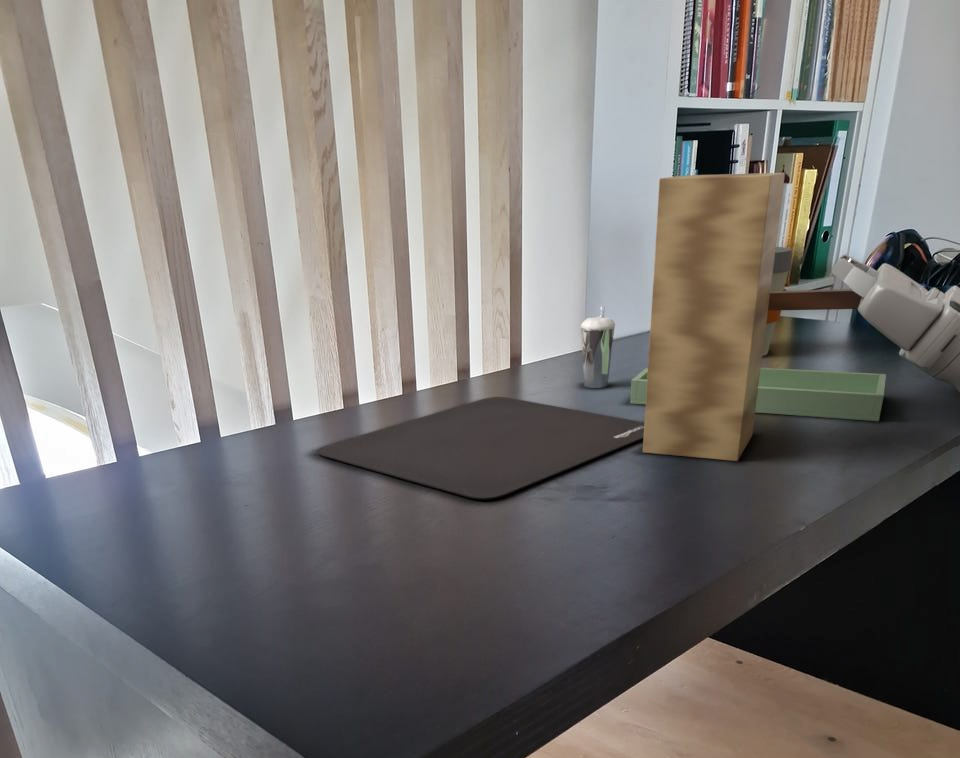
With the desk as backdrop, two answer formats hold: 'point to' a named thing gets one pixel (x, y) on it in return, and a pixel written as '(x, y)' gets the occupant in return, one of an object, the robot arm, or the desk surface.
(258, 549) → the desk surface
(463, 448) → the mouse pad
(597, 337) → the milkshake
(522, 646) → the desk surface
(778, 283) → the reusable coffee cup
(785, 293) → the stick
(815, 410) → the tray
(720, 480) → the desk surface
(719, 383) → the stand
